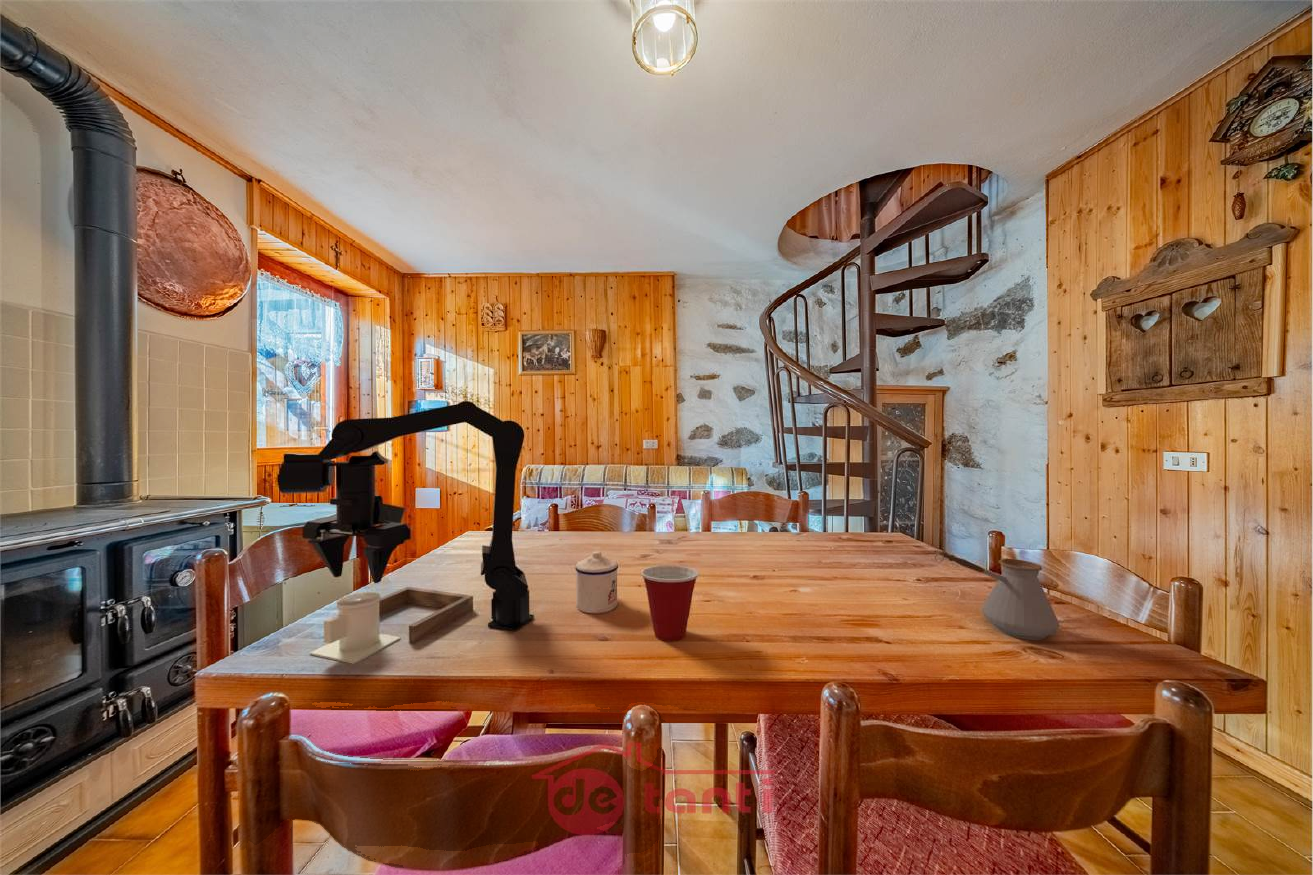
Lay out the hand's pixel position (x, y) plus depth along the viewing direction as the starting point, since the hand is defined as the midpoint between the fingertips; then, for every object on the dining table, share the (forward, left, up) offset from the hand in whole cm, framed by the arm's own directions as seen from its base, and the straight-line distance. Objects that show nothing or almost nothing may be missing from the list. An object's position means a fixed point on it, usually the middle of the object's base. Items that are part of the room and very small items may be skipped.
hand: (357, 579), depth 79 cm
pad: (0, 0, -12) cm, 12 cm away
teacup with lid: (-32, -30, -12) cm, 46 cm away
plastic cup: (-51, -21, -12) cm, 57 cm away
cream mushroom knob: (0, +1, -11) cm, 11 cm away
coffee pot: (-109, -41, -12) cm, 117 cm away
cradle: (0, -11, -12) cm, 16 cm away
